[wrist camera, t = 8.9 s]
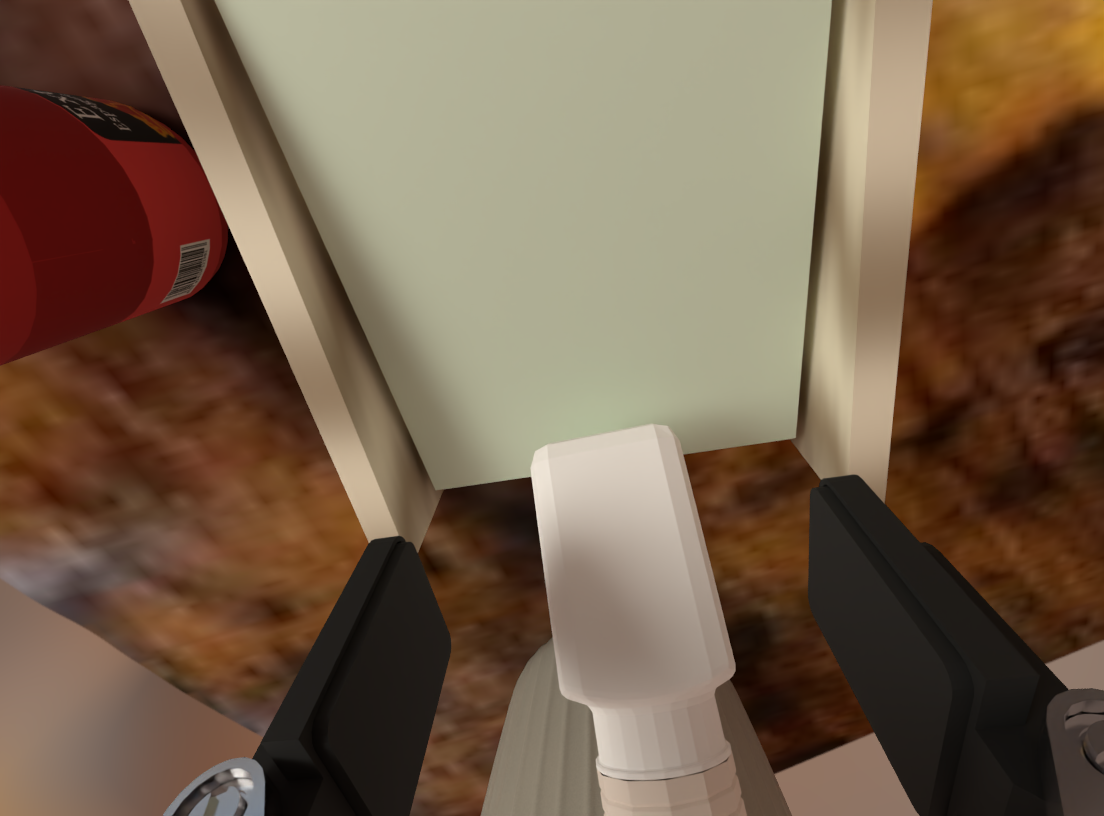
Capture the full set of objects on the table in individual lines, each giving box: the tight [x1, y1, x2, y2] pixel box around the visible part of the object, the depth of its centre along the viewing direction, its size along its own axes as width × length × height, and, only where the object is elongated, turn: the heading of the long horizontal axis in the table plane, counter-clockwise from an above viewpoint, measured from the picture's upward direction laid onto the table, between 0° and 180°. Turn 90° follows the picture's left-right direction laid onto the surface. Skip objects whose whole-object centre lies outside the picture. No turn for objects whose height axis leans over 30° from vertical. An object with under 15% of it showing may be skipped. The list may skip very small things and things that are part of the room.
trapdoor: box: [214, 0, 832, 490], centre depth 14 cm, size 14×12×2 cm
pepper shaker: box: [530, 423, 747, 816], centre depth 13 cm, size 4×4×10 cm
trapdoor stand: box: [129, 0, 933, 553], centre depth 17 cm, size 18×15×11 cm
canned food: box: [0, 85, 228, 365], centre depth 17 cm, size 8×8×11 cm
